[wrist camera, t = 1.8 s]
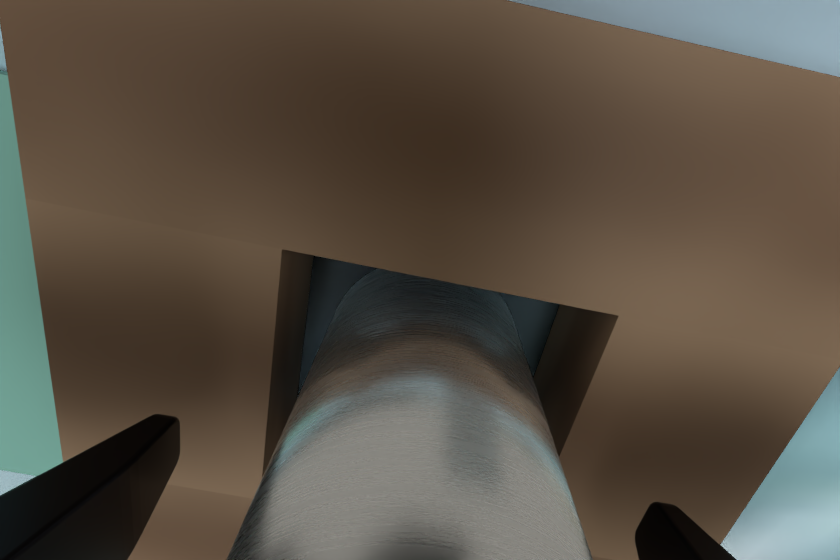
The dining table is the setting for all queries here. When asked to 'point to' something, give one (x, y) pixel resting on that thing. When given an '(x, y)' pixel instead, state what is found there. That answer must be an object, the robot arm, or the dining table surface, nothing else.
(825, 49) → the dining table surface
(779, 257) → the socket block
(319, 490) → the steel cylinder
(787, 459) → the dining table surface
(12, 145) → the teal mat
